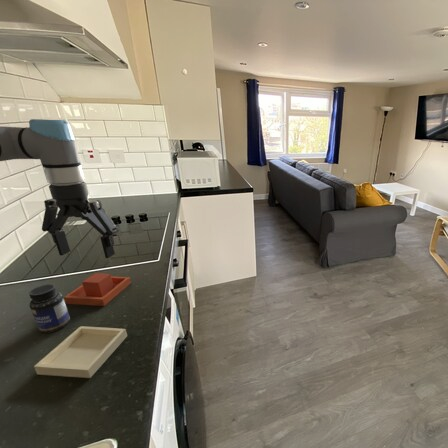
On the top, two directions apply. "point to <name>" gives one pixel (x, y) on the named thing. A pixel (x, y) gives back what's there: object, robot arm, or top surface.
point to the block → (98, 284)
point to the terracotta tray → (80, 296)
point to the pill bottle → (48, 308)
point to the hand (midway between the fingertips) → (87, 254)
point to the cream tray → (81, 352)
